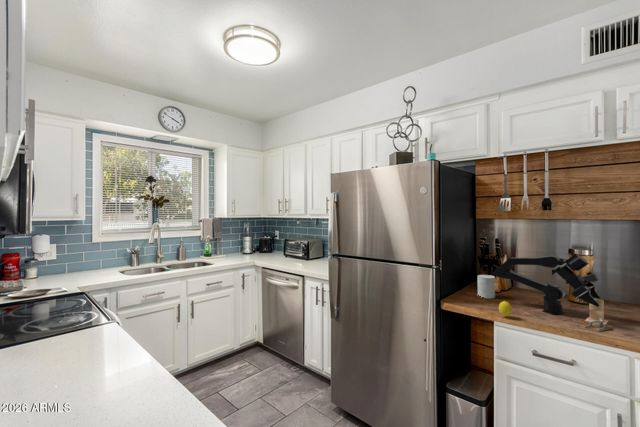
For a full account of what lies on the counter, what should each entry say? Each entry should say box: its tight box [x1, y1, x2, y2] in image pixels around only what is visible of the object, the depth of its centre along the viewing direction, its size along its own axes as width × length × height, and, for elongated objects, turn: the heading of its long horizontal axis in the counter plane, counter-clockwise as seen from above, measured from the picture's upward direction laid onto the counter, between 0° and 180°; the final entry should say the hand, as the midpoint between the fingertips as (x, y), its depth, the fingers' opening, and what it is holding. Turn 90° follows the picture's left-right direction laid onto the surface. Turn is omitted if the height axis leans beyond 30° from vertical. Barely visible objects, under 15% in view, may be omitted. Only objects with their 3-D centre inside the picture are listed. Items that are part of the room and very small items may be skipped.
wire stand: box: [584, 317, 612, 332], centre depth 132 cm, size 5×10×4 cm, turn 112°
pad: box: [584, 316, 609, 325], centre depth 140 cm, size 7×7×1 cm
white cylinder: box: [477, 274, 496, 299], centre depth 184 cm, size 10×10×12 cm
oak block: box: [588, 298, 605, 322], centre depth 140 cm, size 4×4×10 cm
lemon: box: [498, 300, 513, 318], centre depth 147 cm, size 6×6×8 cm
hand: (600, 304), depth 139 cm, fingers open, 9 cm apart
